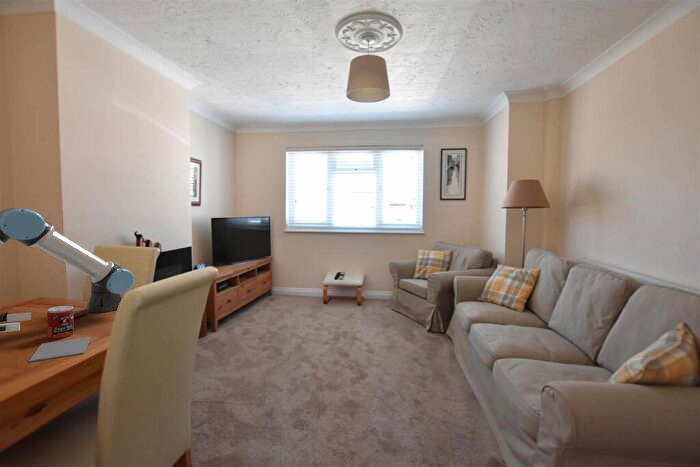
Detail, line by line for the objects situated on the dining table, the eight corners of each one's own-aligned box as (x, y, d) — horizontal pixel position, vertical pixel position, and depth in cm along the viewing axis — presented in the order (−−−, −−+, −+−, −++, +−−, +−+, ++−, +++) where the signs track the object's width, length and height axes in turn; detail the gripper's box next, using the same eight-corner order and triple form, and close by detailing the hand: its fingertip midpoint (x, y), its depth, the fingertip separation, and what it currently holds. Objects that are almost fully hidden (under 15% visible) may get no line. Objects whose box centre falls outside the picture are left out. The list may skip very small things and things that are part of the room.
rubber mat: (41, 344, 118) (41, 343, 118) (90, 338, 126) (90, 337, 125) (28, 362, 104) (28, 360, 104) (84, 353, 112) (84, 352, 112)
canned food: (51, 341, 122) (51, 312, 121) (44, 336, 126) (44, 308, 125) (77, 335, 128) (76, 307, 128) (69, 330, 132) (69, 304, 132)
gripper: (-44, 329, 120) (34, 321, 132) (-83, 353, 99) (14, 342, 111) (-44, 309, 120) (34, 303, 131) (-83, 329, 99) (14, 320, 110)
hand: (25, 320), depth 121 cm, fingers open, 13 cm apart
